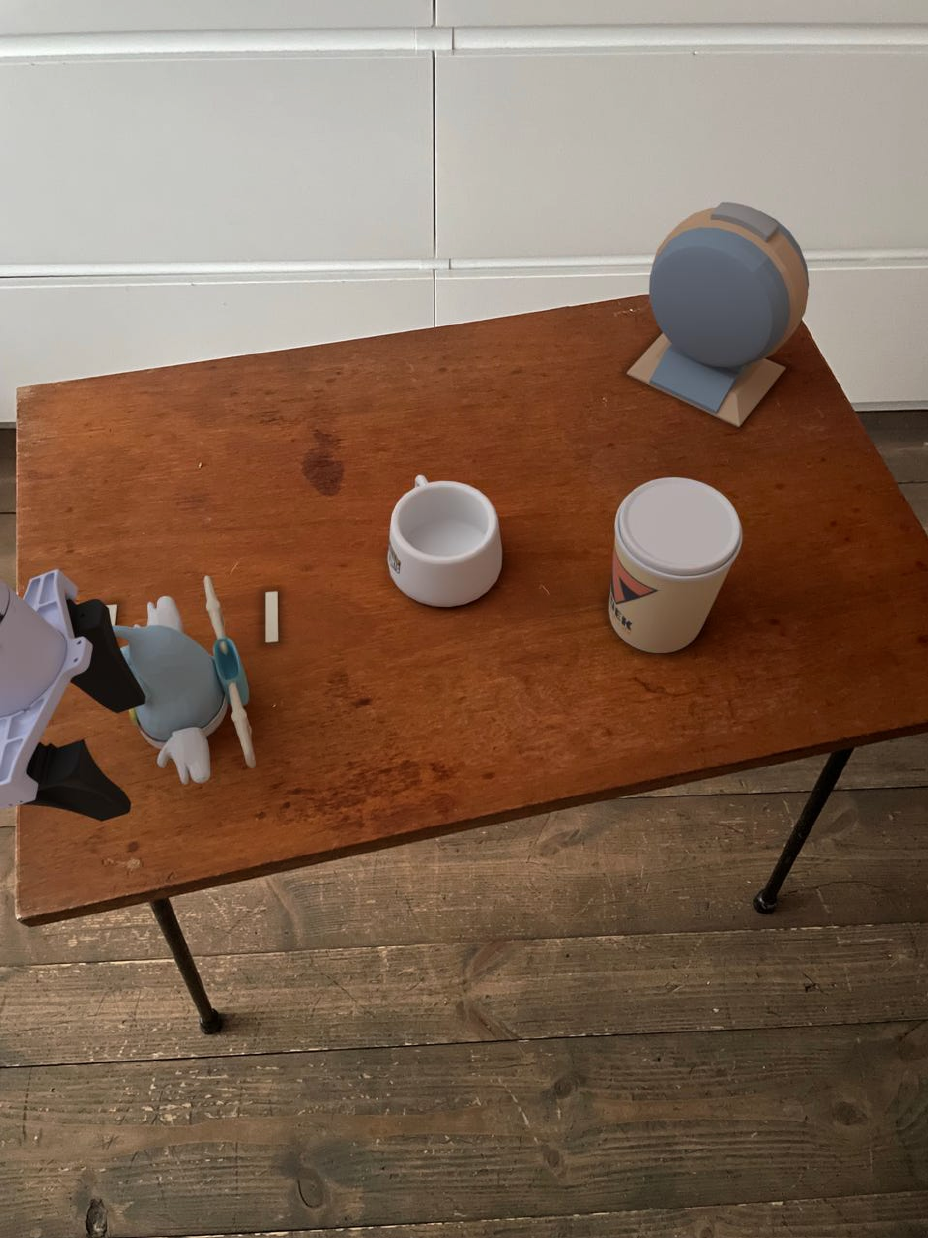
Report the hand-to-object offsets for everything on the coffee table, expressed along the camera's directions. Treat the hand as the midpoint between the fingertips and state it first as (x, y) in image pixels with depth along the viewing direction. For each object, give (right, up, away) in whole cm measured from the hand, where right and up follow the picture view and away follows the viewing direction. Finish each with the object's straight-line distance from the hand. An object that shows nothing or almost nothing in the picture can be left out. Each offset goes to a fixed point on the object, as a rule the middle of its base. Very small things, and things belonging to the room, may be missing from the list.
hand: (124, 756), depth 63 cm
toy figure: (-1, 0, +19) cm, 19 cm away
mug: (+18, +14, +28) cm, 36 cm away
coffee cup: (+36, +8, +24) cm, 44 cm away
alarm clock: (+44, +32, +41) cm, 68 cm away
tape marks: (-2, +8, +23) cm, 25 cm away
